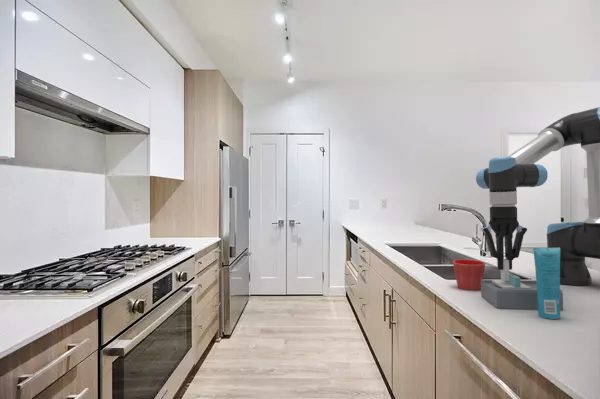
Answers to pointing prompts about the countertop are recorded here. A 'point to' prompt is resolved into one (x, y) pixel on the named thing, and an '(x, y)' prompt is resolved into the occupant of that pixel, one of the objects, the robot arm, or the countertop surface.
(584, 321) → the countertop surface
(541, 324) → the countertop surface
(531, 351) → the countertop surface
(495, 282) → the panel
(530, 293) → the socket
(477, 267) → the flower pot
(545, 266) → the tube
